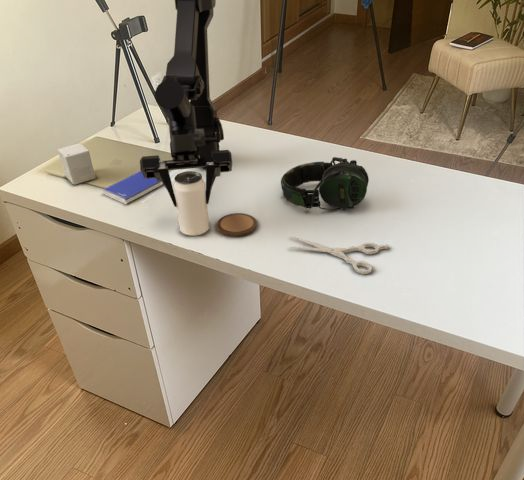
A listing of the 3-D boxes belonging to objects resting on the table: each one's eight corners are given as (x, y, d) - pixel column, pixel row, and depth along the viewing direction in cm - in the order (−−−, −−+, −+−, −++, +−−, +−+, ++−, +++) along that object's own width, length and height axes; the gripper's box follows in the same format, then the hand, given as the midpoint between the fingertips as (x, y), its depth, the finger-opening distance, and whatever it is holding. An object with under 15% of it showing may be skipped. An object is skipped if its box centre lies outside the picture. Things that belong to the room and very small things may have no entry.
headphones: (371, 161, 125) (289, 167, 131) (366, 138, 112) (275, 146, 118) (369, 218, 125) (287, 221, 130) (364, 201, 112) (273, 206, 118)
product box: (96, 178, 135) (89, 150, 130) (73, 185, 132) (65, 157, 127) (87, 170, 139) (80, 142, 133) (65, 176, 136) (56, 148, 131)
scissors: (377, 273, 102) (279, 253, 107) (377, 277, 102) (279, 256, 108) (389, 244, 109) (296, 227, 114) (388, 247, 109) (296, 230, 115)
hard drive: (125, 198, 124) (163, 178, 131) (102, 188, 128) (141, 169, 134) (126, 204, 125) (164, 184, 132) (104, 194, 129) (142, 175, 136)
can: (214, 223, 118) (209, 172, 110) (202, 239, 114) (196, 186, 105) (187, 219, 120) (180, 168, 111) (175, 234, 115) (166, 182, 107)
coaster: (240, 212, 121) (240, 208, 121) (265, 227, 116) (265, 223, 116) (209, 225, 117) (208, 222, 117) (233, 242, 112) (233, 238, 112)
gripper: (131, 116, 102) (140, 197, 102) (228, 109, 104) (236, 188, 104) (140, 140, 113) (148, 213, 113) (227, 133, 115) (235, 205, 115)
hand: (191, 204), depth 111 cm, fingers closed on can, 6 cm apart
